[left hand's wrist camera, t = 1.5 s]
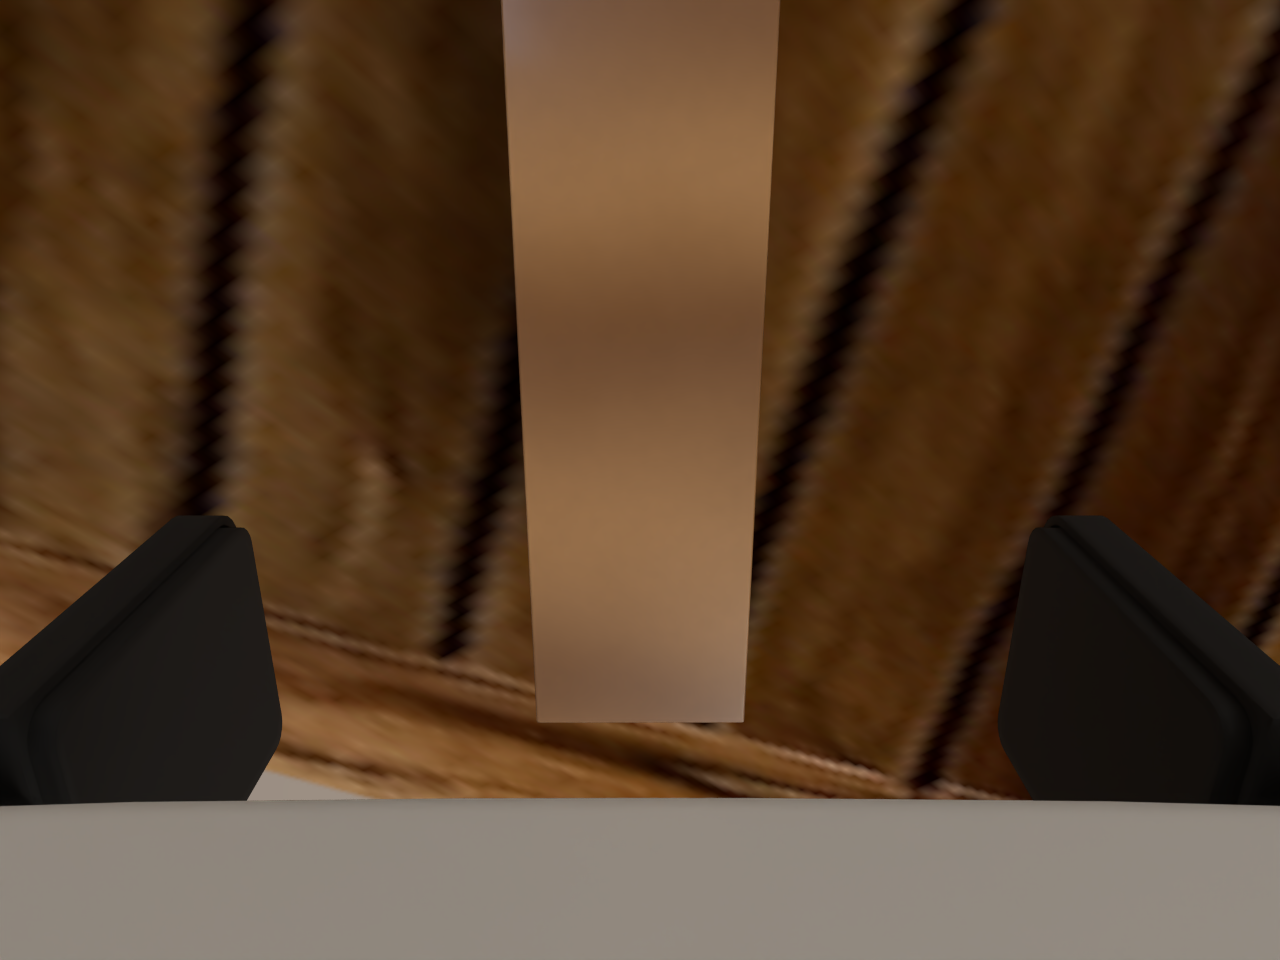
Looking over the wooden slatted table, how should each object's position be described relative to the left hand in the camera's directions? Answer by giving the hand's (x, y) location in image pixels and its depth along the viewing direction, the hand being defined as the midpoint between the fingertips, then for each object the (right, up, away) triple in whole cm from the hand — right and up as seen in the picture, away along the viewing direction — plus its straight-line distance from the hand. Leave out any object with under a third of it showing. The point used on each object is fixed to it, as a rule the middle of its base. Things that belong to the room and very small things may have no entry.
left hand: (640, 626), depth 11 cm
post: (0, +23, +9) cm, 24 cm away
